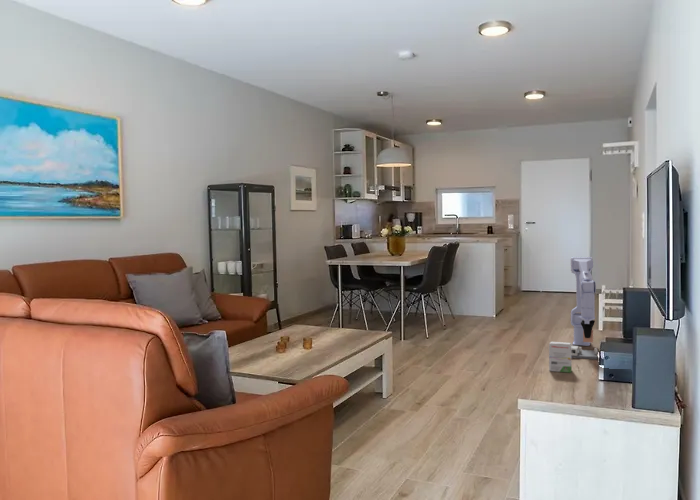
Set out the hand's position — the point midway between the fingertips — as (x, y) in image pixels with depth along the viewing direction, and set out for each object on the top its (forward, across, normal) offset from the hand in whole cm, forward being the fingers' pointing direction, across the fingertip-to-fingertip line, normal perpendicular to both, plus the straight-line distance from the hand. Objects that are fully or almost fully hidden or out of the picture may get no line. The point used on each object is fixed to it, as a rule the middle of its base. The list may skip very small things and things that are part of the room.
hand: (587, 337), depth 266 cm
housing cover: (+8, +1, -7) cm, 10 cm away
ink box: (+9, +30, -9) cm, 33 cm away
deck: (+9, -2, -3) cm, 10 cm away
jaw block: (+2, 0, 0) cm, 2 cm away
